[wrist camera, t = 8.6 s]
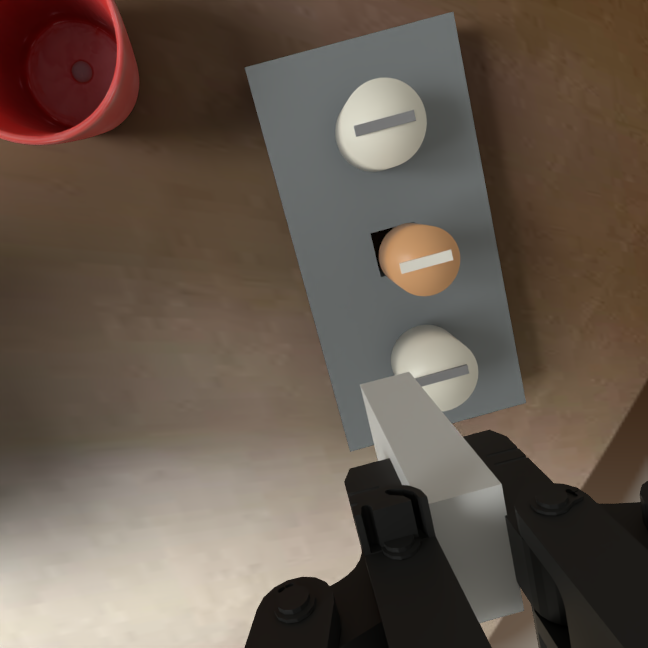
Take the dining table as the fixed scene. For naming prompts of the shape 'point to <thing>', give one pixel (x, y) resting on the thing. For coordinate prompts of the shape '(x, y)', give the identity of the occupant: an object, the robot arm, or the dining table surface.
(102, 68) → the flower pot
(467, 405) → the control box
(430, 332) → the knob
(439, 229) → the pot knob
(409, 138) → the knob
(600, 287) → the dining table surface
